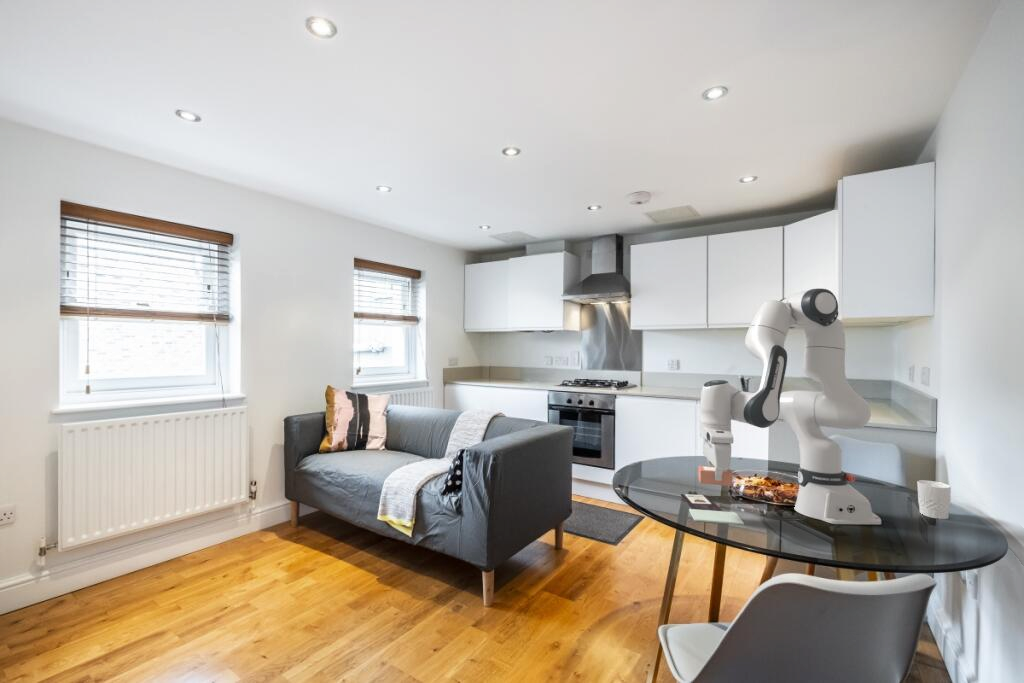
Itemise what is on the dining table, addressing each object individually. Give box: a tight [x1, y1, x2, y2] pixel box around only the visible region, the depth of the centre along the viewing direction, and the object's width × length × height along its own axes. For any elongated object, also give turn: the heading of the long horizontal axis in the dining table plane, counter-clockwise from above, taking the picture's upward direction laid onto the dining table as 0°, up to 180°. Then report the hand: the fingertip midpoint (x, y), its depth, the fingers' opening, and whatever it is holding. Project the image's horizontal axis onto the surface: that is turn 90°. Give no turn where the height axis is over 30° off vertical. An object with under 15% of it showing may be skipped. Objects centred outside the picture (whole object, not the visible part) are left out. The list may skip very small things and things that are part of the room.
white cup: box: [916, 479, 952, 520], centre depth 145 cm, size 8×8×10 cm
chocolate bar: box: [679, 493, 723, 511], centre depth 153 cm, size 9×1×18 cm
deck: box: [697, 465, 734, 487], centre depth 142 cm, size 9×6×4 cm, turn 74°
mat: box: [688, 508, 745, 526], centre depth 142 cm, size 14×9×1 cm, turn 79°
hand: (714, 476), depth 142 cm, fingers closed on deck, 6 cm apart
